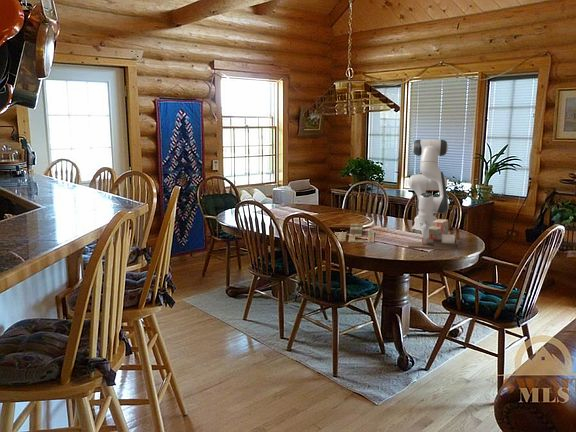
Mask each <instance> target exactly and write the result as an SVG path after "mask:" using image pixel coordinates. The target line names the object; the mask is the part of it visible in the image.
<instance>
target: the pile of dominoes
mask: <svg viewBox="0 0 576 432" xmlns="http://www.w3.org/2000/svg"><path fill="white" fill-rule="evenodd" d="M363 225H364V224H363V223H351V224H350V229H349V236H348V243H365V244H366V243H367V244H374V243H375V231H374V230H368V231H367V240H365V239H364V240H363V239H356V237H359V238H360V237H362V236H363V229H364V227H363ZM351 226H356V227H351ZM334 234H335V235H336V236H337V238H338V240H339V241H338V242H346V241H347V234H348V231H347V232H343V231H342V232H335V231H334Z"/></svg>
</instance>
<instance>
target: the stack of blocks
mask: <svg viewBox="0 0 576 432" xmlns="http://www.w3.org/2000/svg"><path fill="white" fill-rule="evenodd" d="M448 232H449V220H448V219H445V218H444V219H443V218H437V220H435V221H433V225H432V227H430V228H429V238H427V242H433V239H441V240H442V234H446V235H449V233H448Z"/></svg>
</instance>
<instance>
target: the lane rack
mask: <svg viewBox="0 0 576 432" xmlns="http://www.w3.org/2000/svg"><path fill="white" fill-rule="evenodd" d="M433 242H434V244H427V245H422V241H421V242H420V241H407V246H408V249H420V248H421V249H423V250H424V249H425V250H447V251H449V250H450V251H458V250H459V240H458V238H457V237H455V243H442V240H441V239H433Z"/></svg>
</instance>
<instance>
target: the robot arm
mask: <svg viewBox="0 0 576 432" xmlns="http://www.w3.org/2000/svg"><path fill="white" fill-rule="evenodd" d="M411 149H412V150H411V151H412V153H413V154H414V155H415V156H418V157H420V160H419V161H420V163H419V172H420V173H418V174H417V173H416V174H412V175H410V177H409V178H408V186H409V188H410V189H411V190H412V191H414V193H415V194H416V196H417V200H416V209H417V210H416V211H417V214H416V216H415V217H414V219H413V222H414V224H413V225H412V226H411V229H412V230H416V231H420V232H421V238H422V237H423V243H426V240H427V238H429V228H430V227H432V225H433V221H435V220H437V219H438V218H437V217H436V213H437V214H440V215H441V214H446V213H447V212H448V211H449V207H450V205H449V204H450V203H449V199H448V196H447V188H446V187H447V184H448V180H447V178H446V176H445V175H444V172H443V171H441V170H440V168H439V167H440V166H439V157H443V156H445V155H447V152H448V150H449V145H448V142H447V141H446V140H445V139H436V138H427V139H426V138H425V139H420V138H419V139H416V140H414V142H413V143H412V147H411ZM427 191H439V196H434V195H433V193H430V192H427Z"/></svg>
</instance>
